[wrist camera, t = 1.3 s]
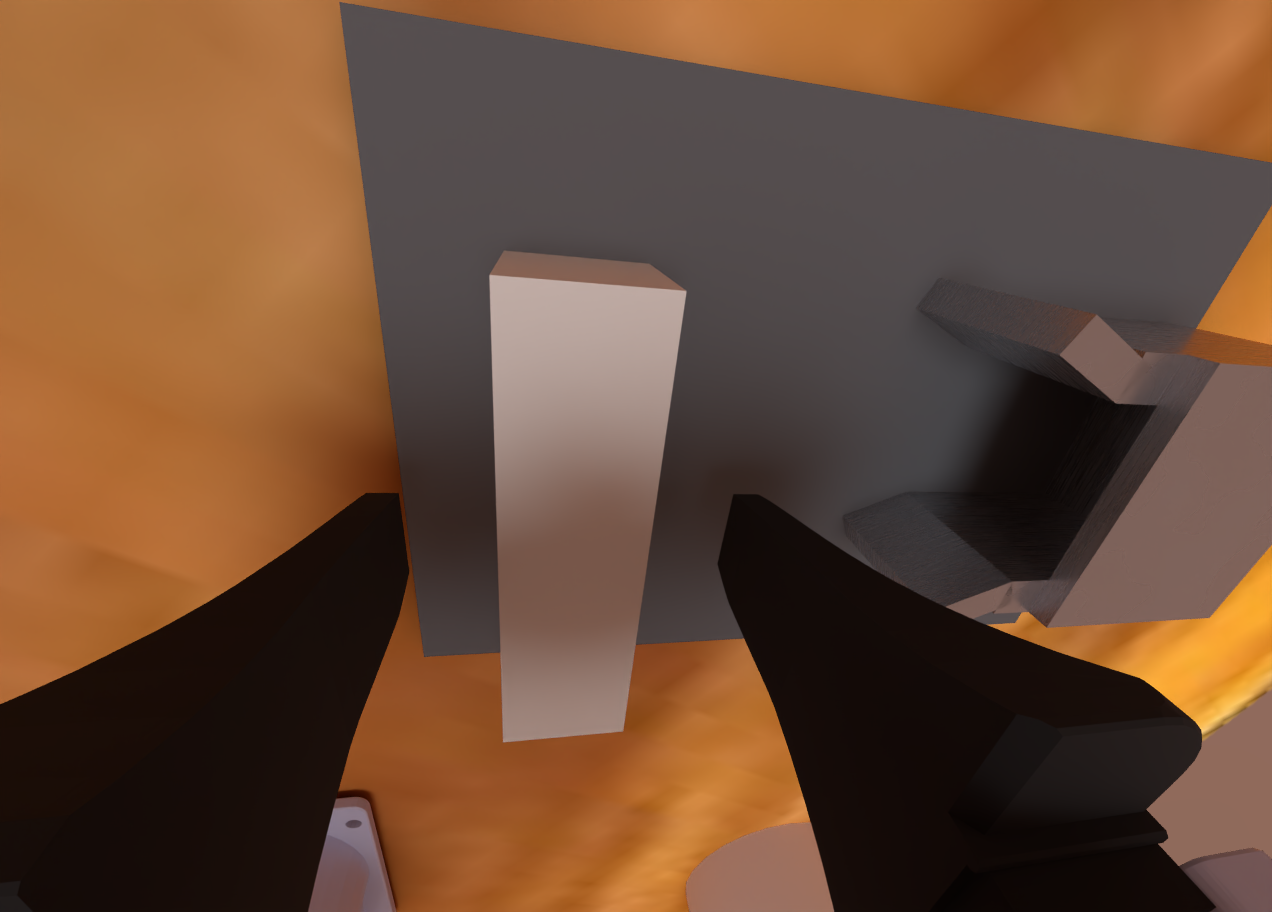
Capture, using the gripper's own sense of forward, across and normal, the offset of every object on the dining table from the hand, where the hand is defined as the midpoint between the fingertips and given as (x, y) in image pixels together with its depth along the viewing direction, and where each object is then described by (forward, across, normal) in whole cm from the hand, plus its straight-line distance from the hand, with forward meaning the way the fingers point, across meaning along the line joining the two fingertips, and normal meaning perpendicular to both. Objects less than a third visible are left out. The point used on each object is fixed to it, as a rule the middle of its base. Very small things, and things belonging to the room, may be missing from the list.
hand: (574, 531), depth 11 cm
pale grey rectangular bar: (+2, 0, 0) cm, 2 cm away
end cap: (+2, -12, -2) cm, 13 cm away
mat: (+3, -6, -1) cm, 7 cm away
